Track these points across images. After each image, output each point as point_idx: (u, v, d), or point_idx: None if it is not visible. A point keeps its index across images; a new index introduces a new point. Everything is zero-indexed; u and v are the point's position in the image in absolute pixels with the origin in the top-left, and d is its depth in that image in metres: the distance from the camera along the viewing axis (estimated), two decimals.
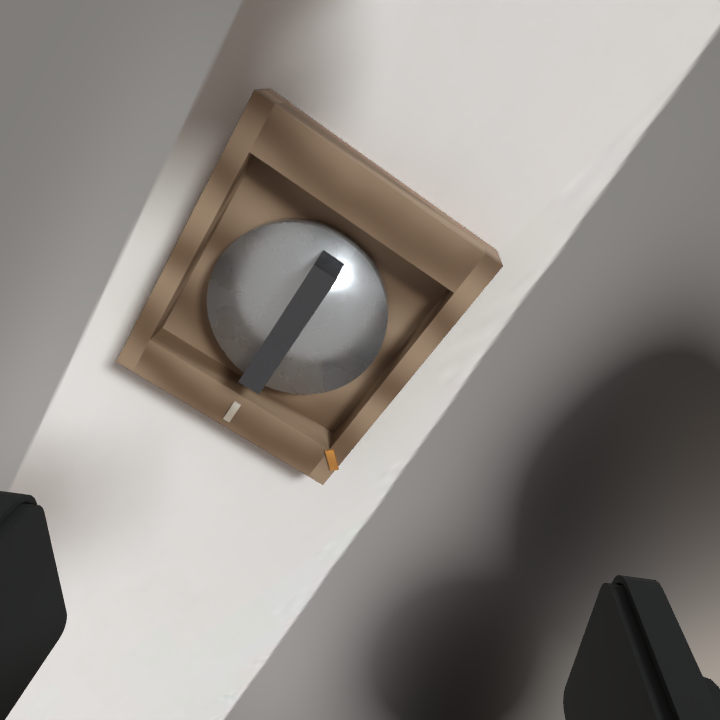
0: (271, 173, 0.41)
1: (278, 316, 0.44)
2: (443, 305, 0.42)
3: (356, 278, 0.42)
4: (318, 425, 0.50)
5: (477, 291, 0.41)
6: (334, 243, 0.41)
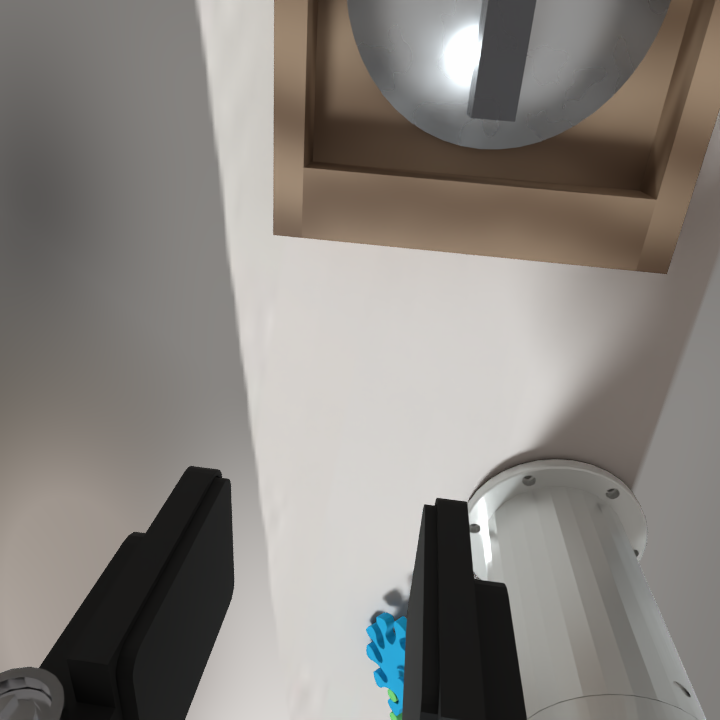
0: (613, 167, 0.29)
1: None
2: (305, 139, 0.28)
3: (439, 102, 0.27)
4: None
5: (278, 186, 0.29)
6: (492, 135, 0.27)
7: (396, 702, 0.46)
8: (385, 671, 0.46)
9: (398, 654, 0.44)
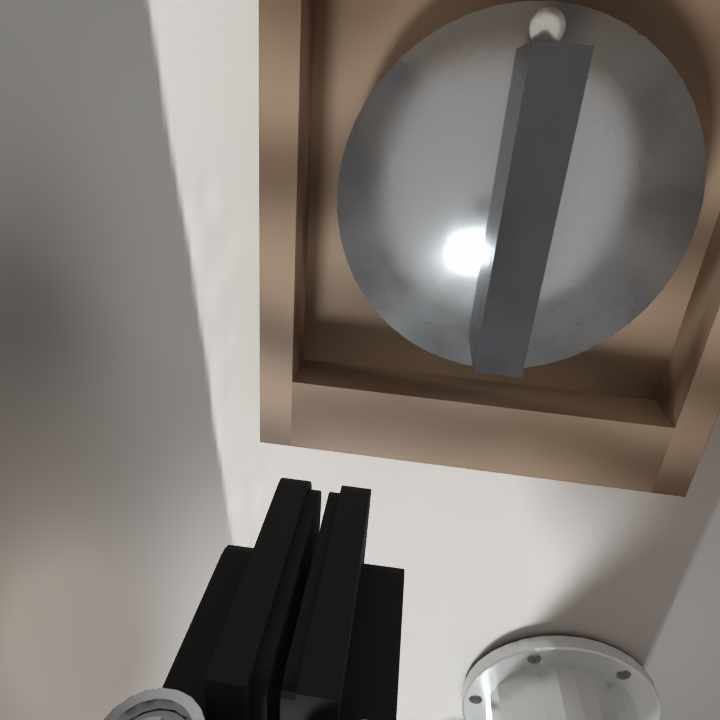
0: (627, 377, 0.27)
1: None
2: (293, 354, 0.26)
3: (438, 322, 0.25)
4: None
5: (265, 398, 0.27)
6: None
7: None
8: None
9: None
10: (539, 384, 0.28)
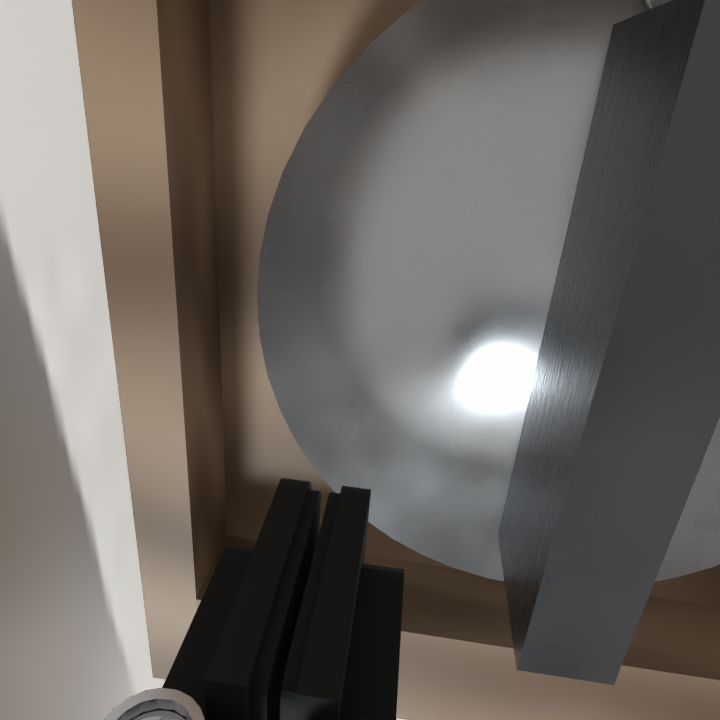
0: None
1: None
2: (197, 556, 0.15)
3: (446, 515, 0.14)
4: None
5: (154, 619, 0.16)
6: None
7: None
8: None
9: None
10: None
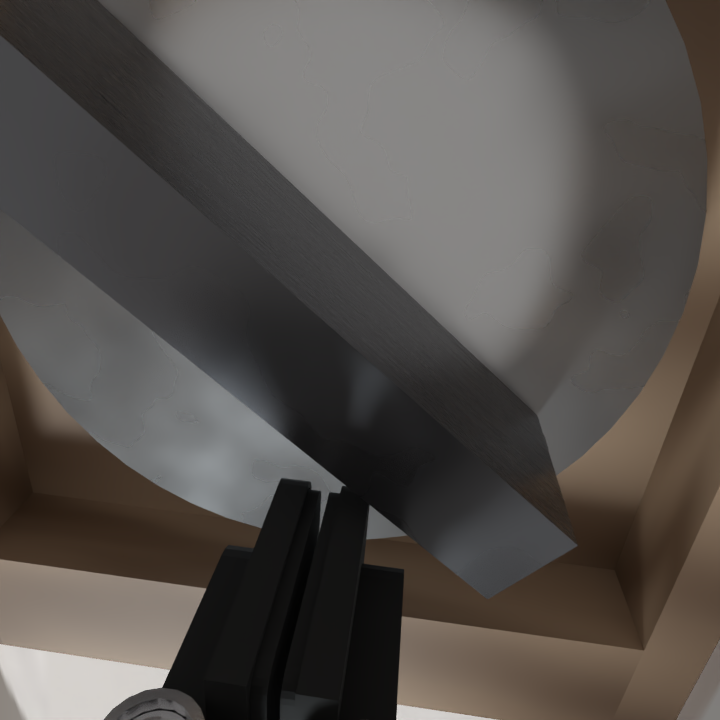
0: None
1: (310, 192, 0.10)
2: None
3: None
4: None
5: None
6: (548, 451, 0.12)
7: None
8: None
9: None
10: None
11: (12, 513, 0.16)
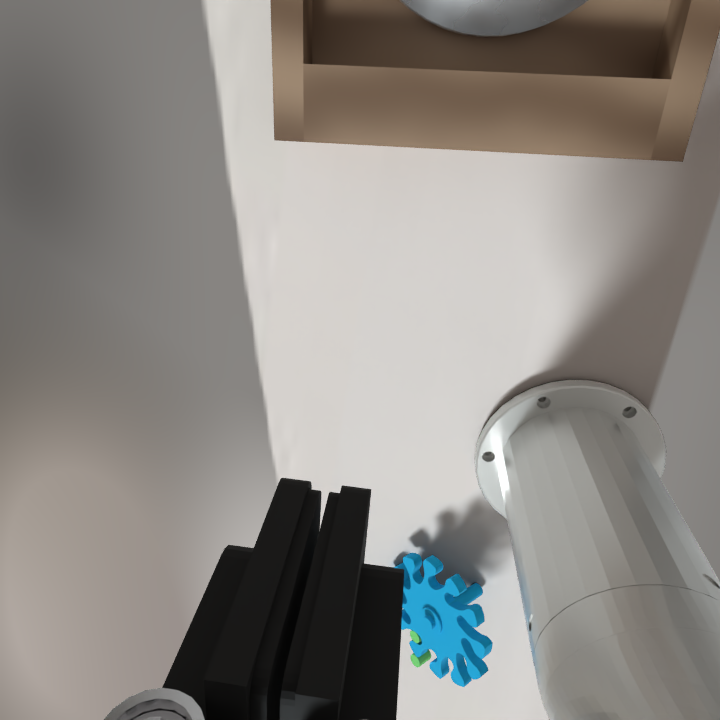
0: (624, 54, 0.28)
1: None
2: (304, 33, 0.27)
3: None
4: None
5: (278, 86, 0.28)
6: None
7: (419, 643, 0.46)
8: (409, 612, 0.46)
9: (425, 593, 0.44)
10: (540, 71, 0.29)
11: (309, 63, 0.29)
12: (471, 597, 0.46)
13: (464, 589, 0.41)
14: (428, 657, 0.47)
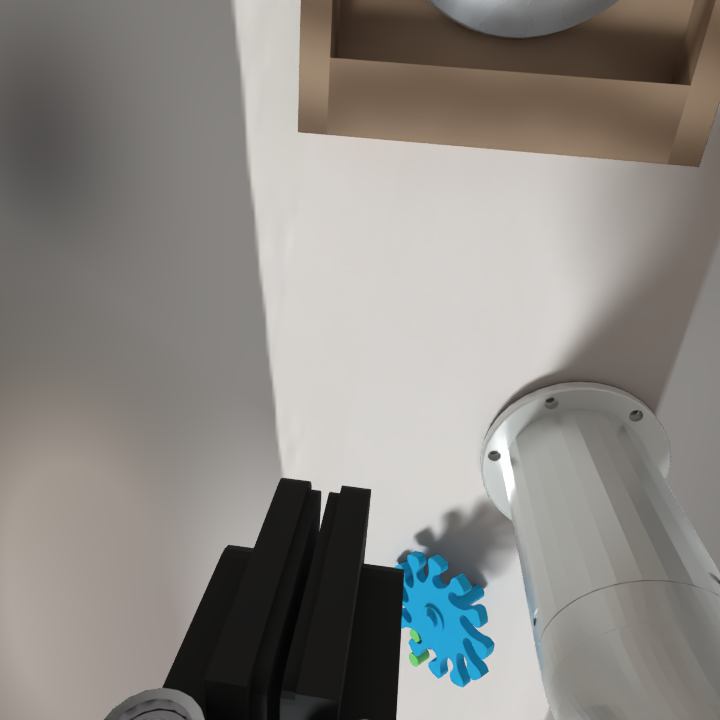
0: (644, 60, 0.29)
1: None
2: (332, 28, 0.28)
3: None
4: None
5: (304, 79, 0.28)
6: None
7: (418, 642, 0.46)
8: (410, 610, 0.46)
9: (429, 592, 0.44)
10: (561, 74, 0.29)
11: (335, 58, 0.29)
12: (473, 598, 0.46)
13: (469, 589, 0.41)
14: (426, 657, 0.47)
